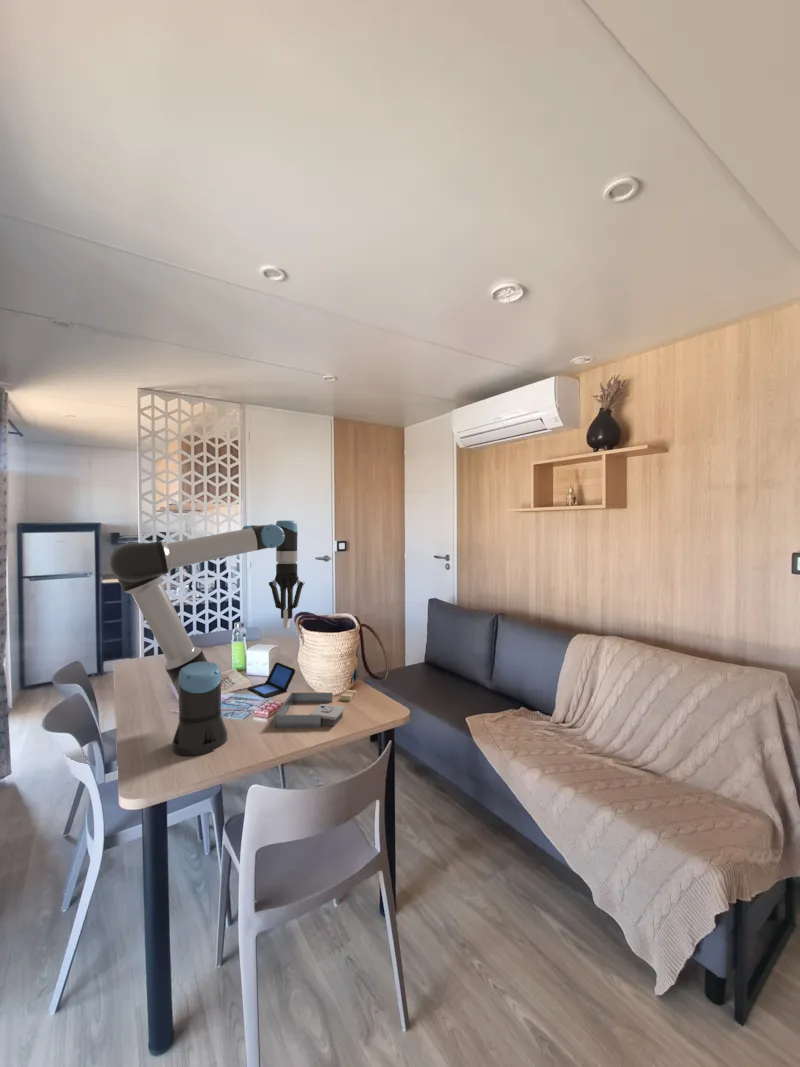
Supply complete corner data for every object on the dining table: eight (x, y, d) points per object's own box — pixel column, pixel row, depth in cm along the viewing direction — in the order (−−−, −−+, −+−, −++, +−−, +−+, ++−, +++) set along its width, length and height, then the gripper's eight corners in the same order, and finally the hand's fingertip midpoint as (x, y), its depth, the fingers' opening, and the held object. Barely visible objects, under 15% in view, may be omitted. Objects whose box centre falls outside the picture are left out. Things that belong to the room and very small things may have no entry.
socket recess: (320, 728, 146) (320, 715, 146) (273, 728, 146) (273, 715, 146) (332, 703, 167) (332, 692, 167) (291, 703, 168) (291, 692, 168)
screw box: (350, 704, 167) (350, 696, 167) (340, 703, 168) (340, 695, 168) (356, 698, 173) (356, 690, 173) (347, 697, 174) (347, 689, 174)
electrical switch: (320, 703, 156) (344, 701, 154) (322, 718, 156) (347, 716, 154) (307, 714, 147) (333, 712, 145) (310, 730, 147) (336, 728, 145)
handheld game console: (246, 691, 182) (246, 668, 182) (276, 683, 192) (276, 661, 192) (265, 700, 171) (265, 676, 171) (296, 692, 181) (296, 668, 181)
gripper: (307, 562, 168) (307, 625, 168) (272, 562, 169) (272, 625, 169) (301, 563, 161) (301, 629, 160) (265, 563, 161) (265, 629, 161)
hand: (286, 627), depth 165 cm, fingers closed
